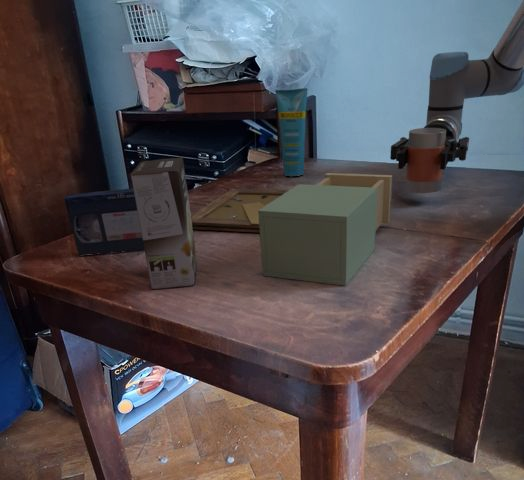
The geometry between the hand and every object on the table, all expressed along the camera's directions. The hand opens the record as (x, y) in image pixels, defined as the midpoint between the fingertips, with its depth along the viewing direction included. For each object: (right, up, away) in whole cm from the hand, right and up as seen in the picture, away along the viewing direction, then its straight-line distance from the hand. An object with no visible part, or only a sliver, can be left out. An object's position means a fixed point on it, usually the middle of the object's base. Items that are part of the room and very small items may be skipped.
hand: (421, 161), depth 96 cm
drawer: (-14, -13, -5) cm, 19 cm away
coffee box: (-42, -23, -16) cm, 50 cm away
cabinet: (-20, -21, -15) cm, 32 cm away
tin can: (+2, -3, +7) cm, 8 cm away
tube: (-21, +9, +35) cm, 42 cm away
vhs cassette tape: (-51, -17, -4) cm, 54 cm away
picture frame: (-30, -7, +10) cm, 33 cm away
